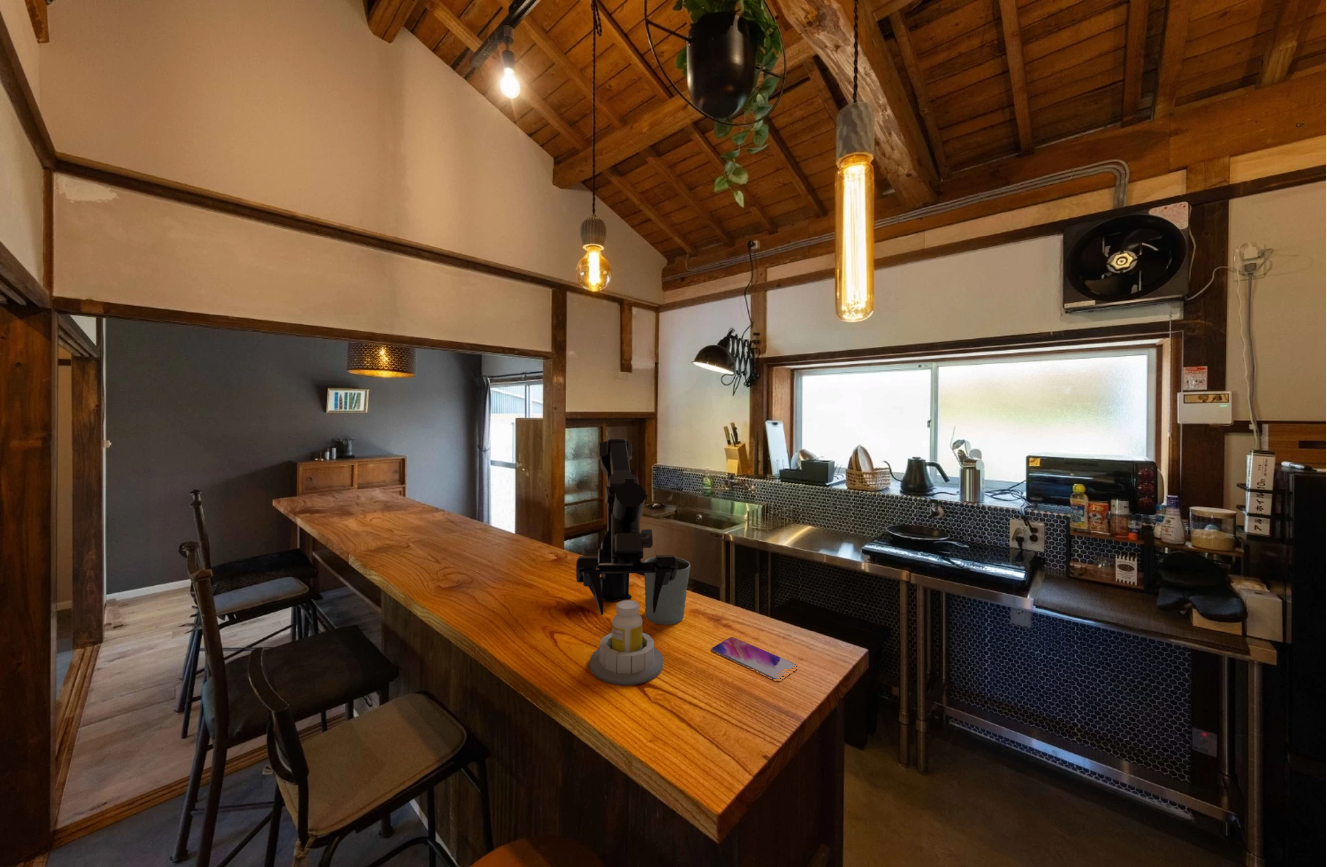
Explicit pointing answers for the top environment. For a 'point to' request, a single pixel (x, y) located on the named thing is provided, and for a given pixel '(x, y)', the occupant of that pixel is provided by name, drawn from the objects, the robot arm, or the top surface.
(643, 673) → the socket collar
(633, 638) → the supplement bottle
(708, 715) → the top surface
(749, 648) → the smartphone
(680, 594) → the grey green cup
